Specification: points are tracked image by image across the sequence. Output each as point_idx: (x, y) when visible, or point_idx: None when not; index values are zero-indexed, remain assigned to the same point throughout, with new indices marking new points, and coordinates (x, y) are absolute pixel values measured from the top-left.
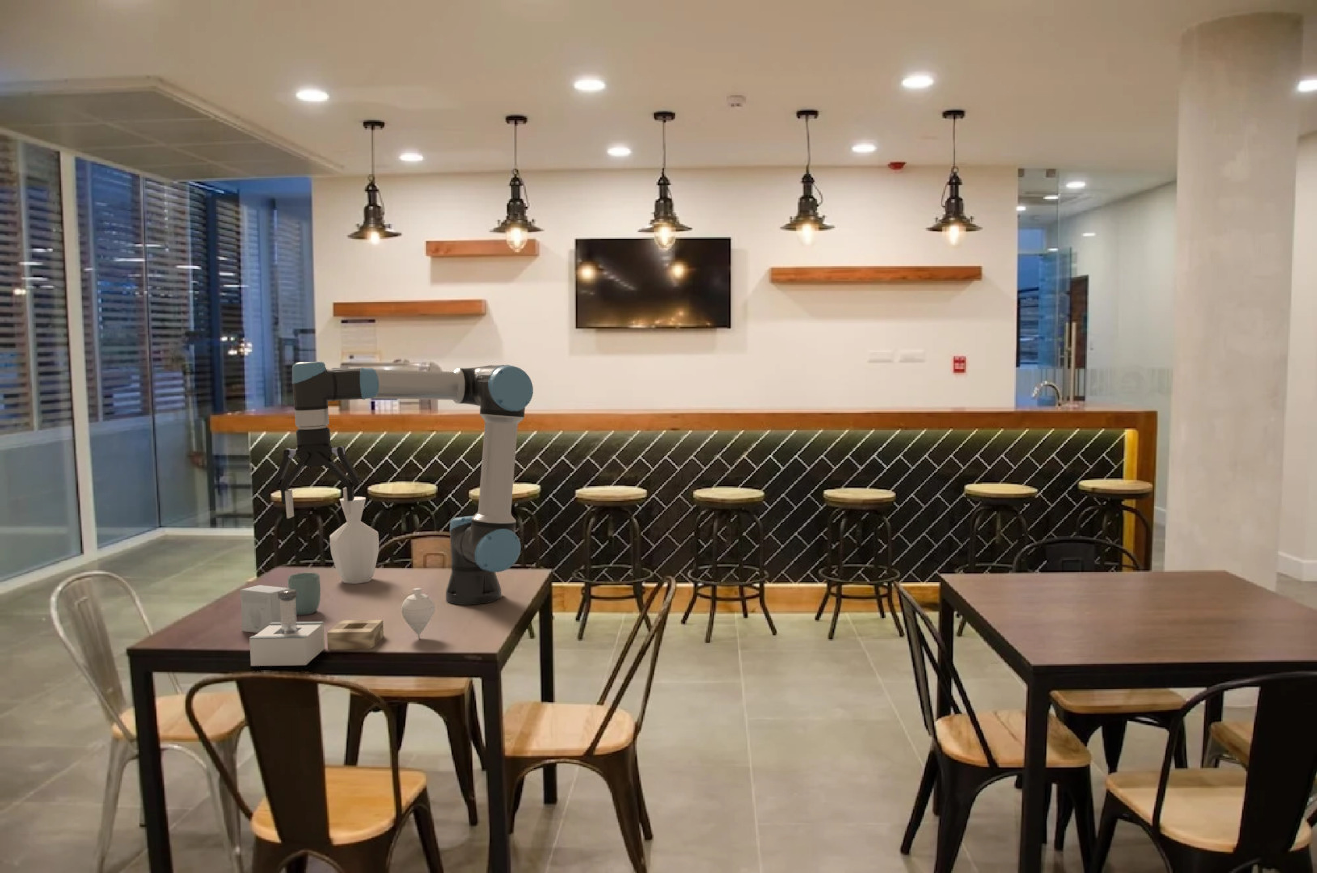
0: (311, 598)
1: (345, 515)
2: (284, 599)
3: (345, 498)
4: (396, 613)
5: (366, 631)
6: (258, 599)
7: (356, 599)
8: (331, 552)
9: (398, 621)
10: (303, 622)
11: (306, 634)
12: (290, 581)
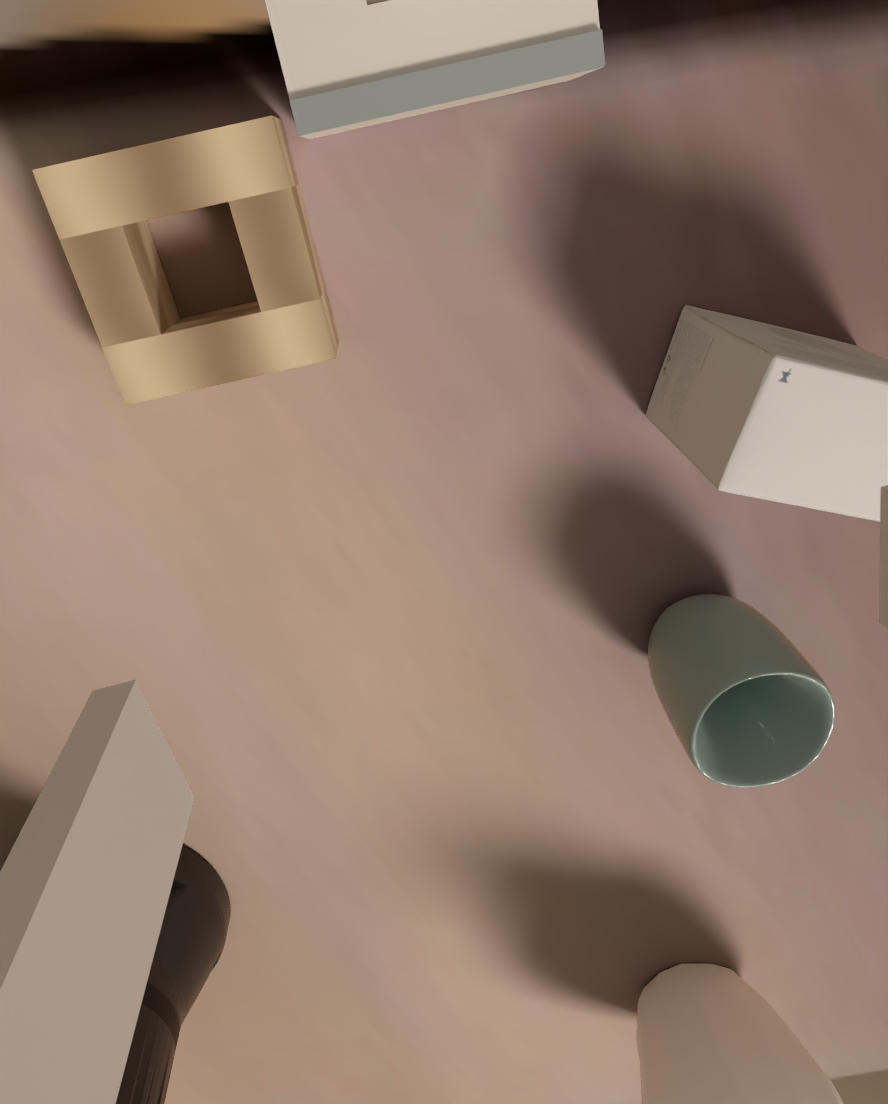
0: (671, 643)
1: (127, 685)
2: None
3: (17, 884)
4: (304, 689)
5: (59, 172)
6: (841, 362)
7: (575, 814)
8: (819, 1068)
9: (224, 594)
10: (408, 92)
11: None
12: (800, 665)
